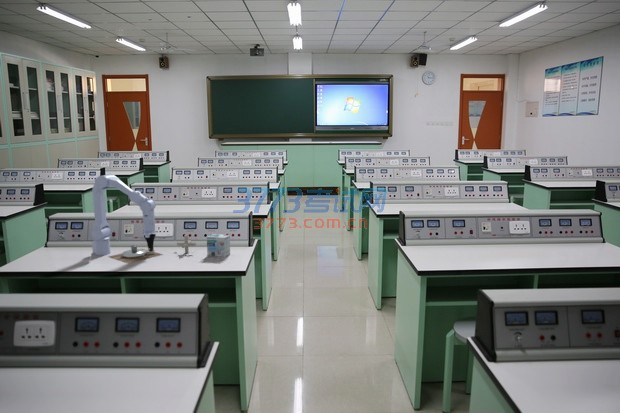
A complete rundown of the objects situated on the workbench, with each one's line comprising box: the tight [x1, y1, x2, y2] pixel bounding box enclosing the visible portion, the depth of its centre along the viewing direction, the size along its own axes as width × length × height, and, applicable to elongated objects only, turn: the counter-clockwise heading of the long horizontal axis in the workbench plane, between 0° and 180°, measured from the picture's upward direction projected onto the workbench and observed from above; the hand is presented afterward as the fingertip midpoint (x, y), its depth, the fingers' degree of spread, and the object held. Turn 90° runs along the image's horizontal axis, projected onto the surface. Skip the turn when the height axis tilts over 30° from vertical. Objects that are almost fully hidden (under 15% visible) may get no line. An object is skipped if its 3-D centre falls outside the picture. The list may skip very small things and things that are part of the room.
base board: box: [108, 248, 164, 265], centre depth 234 cm, size 20×20×1 cm
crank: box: [121, 247, 156, 258], centre depth 234 cm, size 16×12×6 cm
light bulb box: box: [206, 233, 231, 258], centre depth 238 cm, size 11×7×11 cm, turn 76°
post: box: [130, 244, 138, 253], centre depth 233 cm, size 3×3×3 cm
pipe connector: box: [176, 234, 197, 254], centre depth 242 cm, size 10×10×10 cm
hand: (150, 247), depth 235 cm, fingers closed, pressing on crank
